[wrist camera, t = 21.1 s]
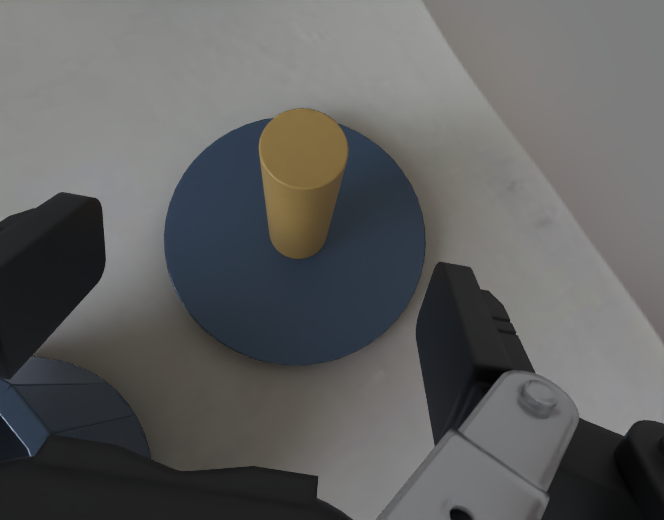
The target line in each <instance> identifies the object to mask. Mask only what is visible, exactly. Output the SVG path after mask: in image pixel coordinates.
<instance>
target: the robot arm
mask: <svg viewBox="0 0 664 520" xmlns="http://www.w3.org/2000/svg"><path fill="white" fill-rule="evenodd" d="M105 262H106V254H105V241H104V228H103V215H102V207H101V204H100V202H99V200H98V199H96V198H92V197H87V196H81V195H76V194H71V193H65V192H61V193H58V194H57V195H55V196H54V197H52V198H51V199H49V200H47V201H46V202H44V203H43V204H41V205H40V206H38V207H37V208H33V209H30V210H27V211H24V212H21V213H17V214H14V215H11V216H9V217H7V218H6V219H4V220H2V221H1V222H0V378H2V379H8V380H10V379H11V378H12V377H13V376H14V375H15V374H16V372H17V371H18V370H19V369H20V368H21V367H22V366H23V365H24V364H25V363H26V361H27V360H28V359H29V358H30V357H31V356H32V355H33V354H34V353H35V352H36V350H37V349H38V348H39V347H40V346H41V345H42V344H43V343H44V342H45V341H46V339H47V338H48V337H49V336H50V335H51V334H52V333H53V332H54V331H55V329H56V328H57V327H58V326H59V325H60V324H61V323H62V322H63V321H64V320H65V318H66V317H67V316H68V315H69V314H70V313H71V312H72V311H73V310H74V309H75V307H76V306H77V305H78V304H79V303H80V302H81V301H82V300H83V299H84V298H85V296H86V295H87V294H88V293H89V292H90V291H91V290H92V289H93V288H94V287H95V285H96V284H97V283H98V282H99V280H100V279H101V277H102V274H103V272H104V268H105ZM416 341H417V347H418V352H419V358H420V364H421V370H422V375H423V381H424V387H425V393H426V398H427V404H428V410H429V415H430V421H431V427H432V433H433V438H434V444H435V447H434V449H433V450H432V451H431V452H430V454H429V455H428V456H427V457H426V459H425V460H424V461H423V462H422V463H421V465H420V466H419V467H418V468H417V470H416V471H415V472H414V473H413V475H412V476H411V477H410V478H409V479H408V481H407V482H406V483H405V484H404V486H403V487H402V488H401V489H400V490H399V492H398V493H397V494H396V495H395V497H394V498H393V499H392V500H391V502H390V503H389V504H388V505H387V506H386V508H385V509H384V510H383V511H382V513H381V514H380V515H379V516H378V517H377V519H376V520H664V424H663V423H659V422H656V421H649V420H642V421H638V422H636V423H634V424H633V425H632V427H631V428H630V429H629V431H628V432H627V433H626V435H625V436H622V435H620V434H617V433H615V432H612V431H610V430H607V429H605V428H602V427H600V426H597V425H595V424H593V423H590V422H588V421H585V420H583V419H581V418H579V413H578V409H577V407H576V405H575V403H574V402H573V401H572V399H571V398H570V397H569V396H568V394H567V393H566V392H564V391H563V390H562V389H561V388H560V387H559V386H557V385H556V384H555V383H553V382H551V381H550V380H548V379H546V378H544V377H542V376H540V375H537V374H536V373H535V371H534V369H533V367H532V365H531V362H530V360H529V358H528V356H527V354H526V352H525V350H524V348H523V346H522V344H521V341H520V339H519V337H518V335H516V331H515V329H514V327H513V325H512V323H510V318H509V316H508V314H507V312H506V310H505V308H504V306H503V304H502V303H501V302H499V301H498V300H497V299H496V298H495V297H494V296H493V295H492V294H491V293H490V292H489V291H487V290H481V289H480V287H479V285H478V283H477V280H476V278H475V275H474V273H473V271H472V269H471V268H470V267H467V266H462V265H456V264H451V263H445V262H438V263H437V264H436V266H435V268H434V271H433V274H432V276H431V279H430V282H429V285H428V288H427V291H426V294H425V297H424V300H423V303H422V306H421V309H420V312H419V315H418V319H417V325H416ZM317 486H318V476H314V475H307V474H301V473H294V472H288V471H282V470H275V469H269V468H263V467H256V466H249V467H236V468H223V469H210V470H197V471H178V470H175V469H172V468H170V467H167V466H165V465H163V464H161V463H158V462H156V461H154V460H151V459H149V458H147V457H144V456H142V455H140V454H137V453H135V452H133V451H131V450H128V449H126V448H124V447H121V446H119V445H116V444H110V443H103V442H97V441H91V440H84V439H78V438H71V437H65V436H59V435H52V434H49V436H48V437H47V439H46V440H45V441H44V443H43V444H42V446H41V447H40V449H39V450H38V451H37V453H36V454H35V456H28V457H22V458H16V459H10V460H6V461H2V462H0V520H353V519H351V518H350V517H349V516H347V515H346V514H345V513H343V512H342V511H341V510H339V509H337V508H336V507H334V506H332V505H330V504H329V503H327V502H325V501H322V500H320V499H318V498H317Z"/></svg>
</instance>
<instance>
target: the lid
mask: <svg viewBox="0 0 664 520" xmlns="http://www.w3.org/2000/svg"><path fill="white" fill-rule="evenodd" d="M425 245H426V243H425V227H424V221H423V216H422V212H421V208H420V205H419V202H418V199H417V197H416V194H415V192H414V190H413V188H412V186H411V184H410V182H409V181H408V179H407V177H406V176H405V174H404V173H403V171H402V170H401V169H400V167H399V166H398V165H397V164H396V163H395V161H394V160H393V159H392V158H391V157H390V156H389V155H388V154H387V153H386V152H385V151H384V150H383V149H382V148H381V147H379V146H378V145H376V144H375V143H374V142H372V141H371V140H370V139H368V138H367V137H365V136H363V135H362V134H360V133H358V132H356V131H355V130H352V129H350V128H348V127H345V126H343V125H341V124H337V123H336V122H335V121H334V120H333V119H332V118H330V117H329V116H327V115H326V114H324V113H321V112H319V111H316V110H312V109H293V110H289V111H285V112H283V113H281V114H279V115H278V116H276V117H275V118H270V119H264V120H260V121H257V122H253V123H250V124H247V125H244V126H242V127H240V128H238V129H235V130H233V131H231V132H229V133H228V134H226V135H224V136H223V137H221V138H219V139H218V140H216V141H215V142H214V143H213V144H211V145H210V146H209V147H207V148H206V149H205V150H204V151H203V152H202V153H201V154H200V155H199V156H198V157H197V158H196V159H195V160H194V161H193V163H192V164H191V165H190V166H189V168H188V169H187V170H186V172H185V173H184V175H183V176H182V178H181V180H180V182H179V183H178V185H177V187H176V189H175V191H174V194H173V196H172V199H171V201H170V204H169V208H168V212H167V216H166V222H165V232H164V246H165V257H166V262H167V268H168V271H169V274H170V277H171V280H172V283H173V286H174V288H175V290H176V292H177V294H178V296H179V298H180V300H181V302H182V303H183V305H184V306H185V308H186V309H187V311H188V312H189V313H190V315H191V316H192V317H193V318H194V319H195V320H196V322H197V323H198V324H199V325H200V326H201V327H202V328H203V329H204V330H205V331H206V332H208V333H209V334H210V335H211V336H213V337H214V338H215V339H216V340H218V341H219V342H221V343H222V344H224V345H226V346H227V347H229V348H231V349H232V350H234V351H236V352H238V353H241V354H243V355H245V356H248V357H250V358H253V359H257V360H260V361H264V362H267V363H274V364H280V365H311V364H319V363H324V362H328V361H332V360H335V359H339V358H341V357H344V356H346V355H349V354H351V353H354V352H356V351H358V350H359V349H361V348H363V347H364V346H366V345H368V344H370V343H371V342H373V341H374V340H375V339H376V338H378V337H379V336H380V335H382V334H383V333H384V332H385V331H386V330H387V329H388V328H389V327H390V326H391V325H392V324H393V323H394V322H395V321H396V320H397V319H398V317H399V316H400V315H401V313H402V312H403V311H404V309H405V308H406V307H407V305H408V303H409V301H410V299H411V298H412V296H413V294H414V292H415V290H416V287H417V284H418V282H419V279H420V276H421V272H422V268H423V263H424V256H425Z"/></svg>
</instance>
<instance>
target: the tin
mask: <svg viewBox="0 0 664 520" xmlns="http://www.w3.org/2000/svg"><path fill="white" fill-rule="evenodd" d="M49 434H52V435H59V436H65V437H71V438H78V439H84V440H91V441H97V442H103V443H110V444H116V445H119V446H121V447H124V448H126V449H128V450H131V451H133V452H135V453H137V454H140V455H142V456H144V457H147V458H149V459H151V456H150V450H149V447H148V444H147V440H146V437H145V434H144V432H143V429H142V427H141V425H140V423H139V421H138V418H137V417H136V415H135V414H134V412H133V411H132V409H131V407H130V406H129V404H128V403H127V402H126V401H125V400H124V399H123V397H122V396H121V395H120V394H119V393H118V392H117V391H116V390H115V389H114V388H113V387H112V386H110V385H109V384H108V383H107V382H106V381H105V380H103V379H101V378H100V377H98V376H97V375H95V374H93V373H92V372H90V371H88V370H86V369H83V368H81V367H79V366H77V365H75V364H72V363H69V362H64V361H60V360H54V359H47V358H42V357H37V356H31V357H30V358H29V359H28V360H27V361H26V363H25V364H24V365H23V366H22V367H21V368H20V369H19V370H18V371H17V372H16V374H15V375H14V376H13V377H12V378H11V379H10V380H8V379H2V378H0V462H2V461H6V460H10V459H16V458H22V457H28V456H35V454H36V453H37V451H38V450H39V449H40V447H41V446H42V444H43V443H44V441H45V440H46V439H47V437H48V436H49Z"/></svg>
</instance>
